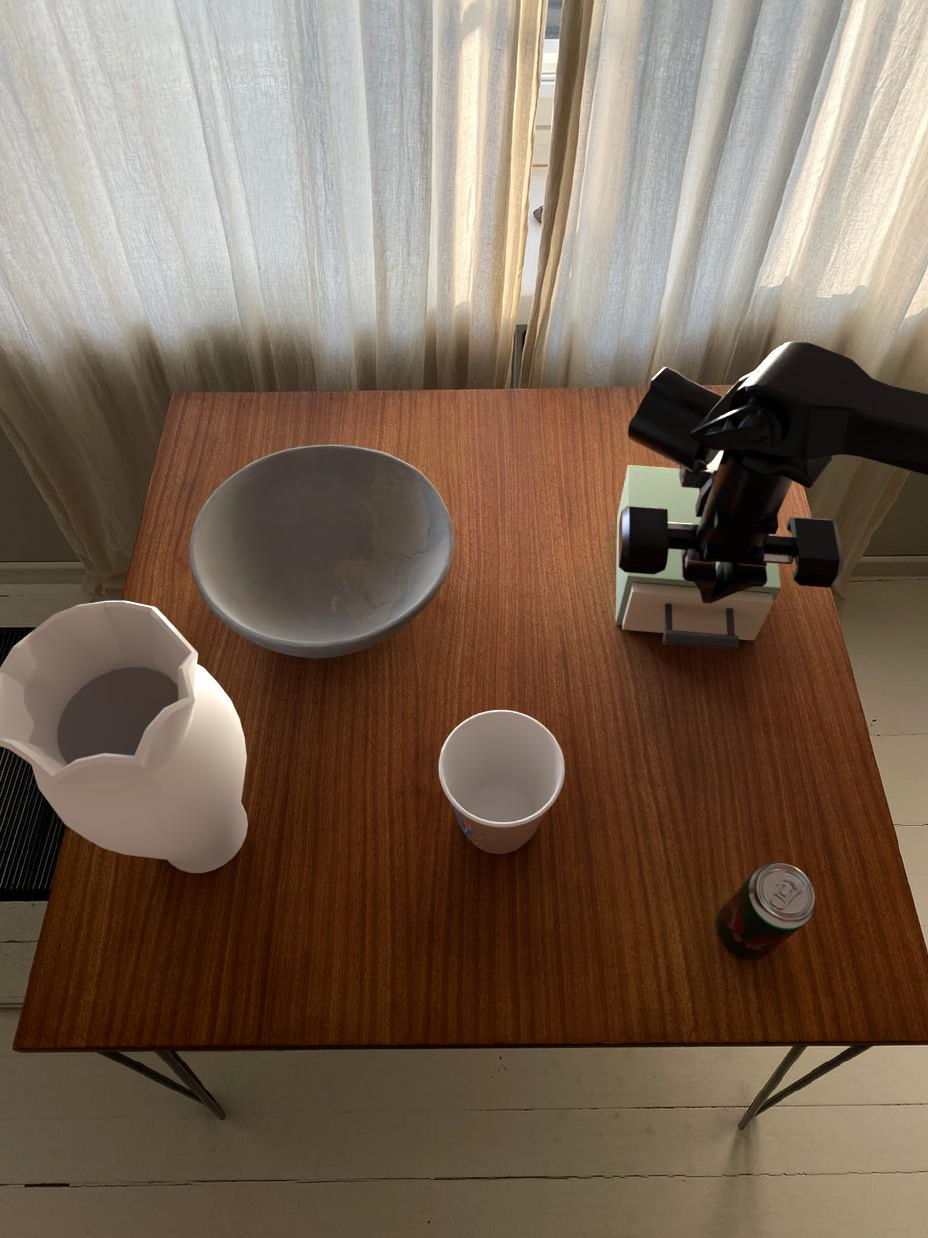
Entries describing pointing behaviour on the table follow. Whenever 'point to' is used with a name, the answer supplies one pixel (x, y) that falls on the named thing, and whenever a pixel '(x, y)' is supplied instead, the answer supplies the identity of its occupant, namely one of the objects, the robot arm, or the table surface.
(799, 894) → the soda can
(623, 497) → the cabinet
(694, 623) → the drawer
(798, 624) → the table surface
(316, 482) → the bowl
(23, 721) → the vase
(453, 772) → the coffee cup
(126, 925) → the table surface
